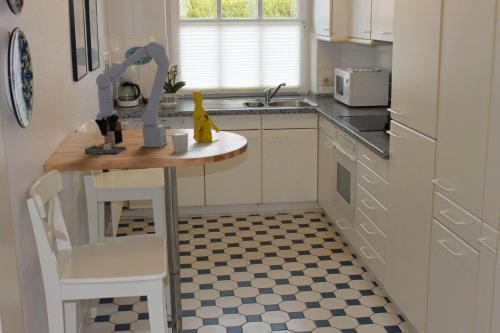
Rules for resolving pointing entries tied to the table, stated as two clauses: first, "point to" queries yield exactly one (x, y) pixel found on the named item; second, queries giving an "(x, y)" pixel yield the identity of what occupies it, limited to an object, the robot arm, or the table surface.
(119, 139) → the battery
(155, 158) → the table surface
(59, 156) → the table surface
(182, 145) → the beige cylinder
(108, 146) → the pusher plate
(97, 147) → the frame
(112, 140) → the jar
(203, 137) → the figure statuette
